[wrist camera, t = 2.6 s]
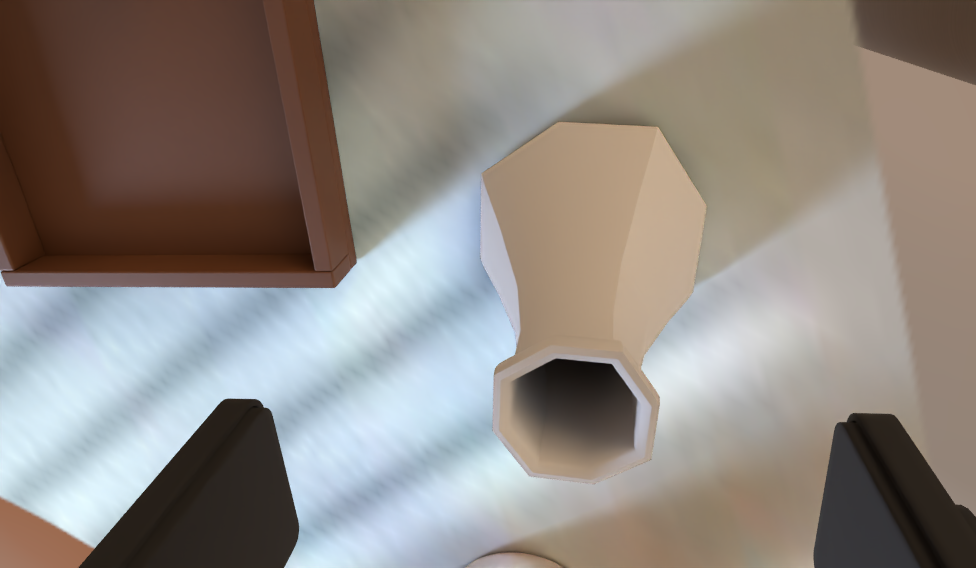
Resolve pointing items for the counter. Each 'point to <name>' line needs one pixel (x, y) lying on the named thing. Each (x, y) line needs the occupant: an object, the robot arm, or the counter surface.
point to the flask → (586, 291)
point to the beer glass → (513, 561)
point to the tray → (168, 146)
